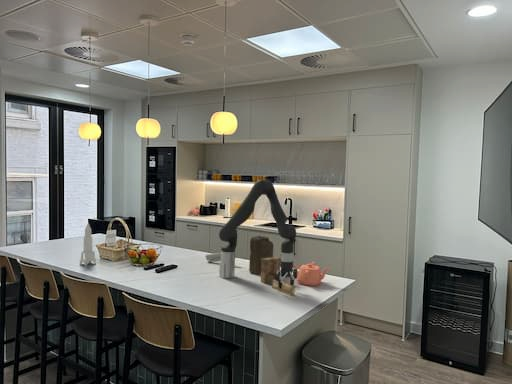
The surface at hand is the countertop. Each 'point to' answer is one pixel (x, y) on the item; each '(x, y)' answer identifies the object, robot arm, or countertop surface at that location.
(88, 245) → the sculpture
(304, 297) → the countertop surface
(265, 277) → the slotted wooden stand
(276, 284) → the rail
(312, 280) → the pot
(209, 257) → the gun
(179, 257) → the countertop surface
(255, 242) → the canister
